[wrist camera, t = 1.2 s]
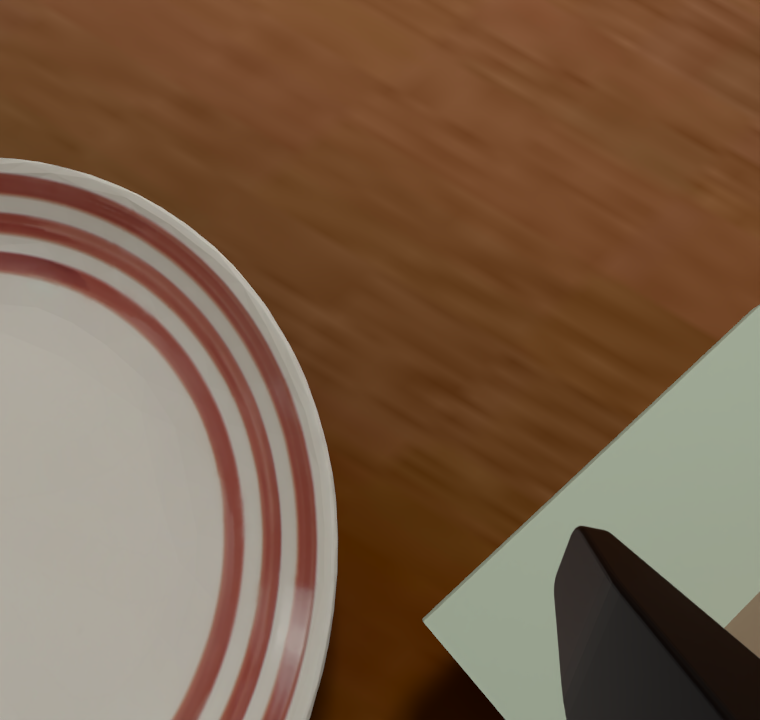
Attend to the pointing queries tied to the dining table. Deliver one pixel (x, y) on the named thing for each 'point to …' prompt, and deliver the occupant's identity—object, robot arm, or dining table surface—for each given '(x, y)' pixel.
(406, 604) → the dining table surface
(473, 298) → the dining table surface
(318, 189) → the dining table surface
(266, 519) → the dinner plate
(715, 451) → the cover
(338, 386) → the dining table surface
